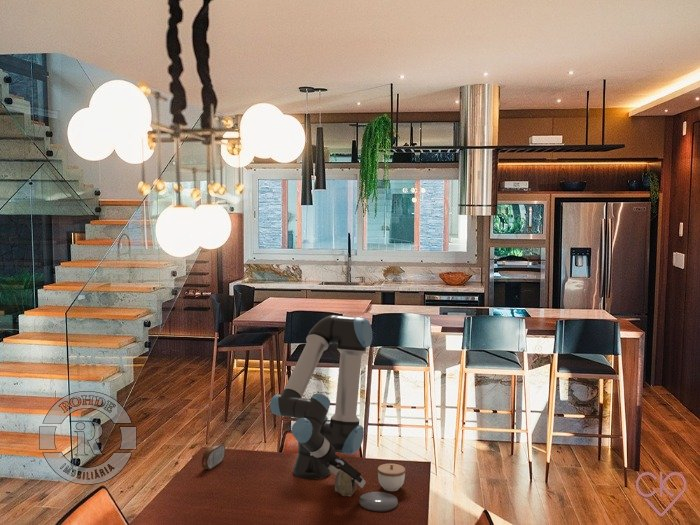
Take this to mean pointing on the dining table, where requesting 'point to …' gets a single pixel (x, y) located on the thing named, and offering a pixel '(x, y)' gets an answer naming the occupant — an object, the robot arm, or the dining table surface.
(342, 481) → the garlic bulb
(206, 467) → the tin
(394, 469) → the lidded jar
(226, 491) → the dining table surface
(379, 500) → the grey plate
